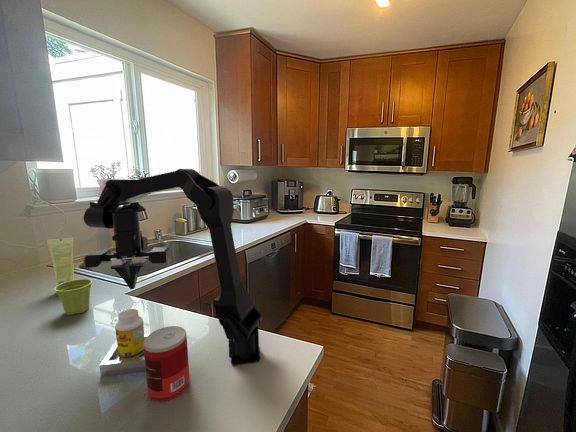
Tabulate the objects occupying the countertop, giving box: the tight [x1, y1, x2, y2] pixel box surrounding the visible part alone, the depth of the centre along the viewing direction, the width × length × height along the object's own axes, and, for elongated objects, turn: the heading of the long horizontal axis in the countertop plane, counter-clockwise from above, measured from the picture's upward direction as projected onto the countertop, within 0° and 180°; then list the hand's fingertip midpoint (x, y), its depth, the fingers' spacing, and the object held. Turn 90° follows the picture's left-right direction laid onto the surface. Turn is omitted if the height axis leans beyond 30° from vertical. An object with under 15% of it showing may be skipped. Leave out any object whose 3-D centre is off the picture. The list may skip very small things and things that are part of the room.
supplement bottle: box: [114, 308, 145, 359], centre depth 65 cm, size 6×6×10 cm
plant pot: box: [53, 278, 93, 316], centre depth 87 cm, size 9×9×9 cm
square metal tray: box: [99, 333, 150, 377], centre depth 66 cm, size 11×10×3 cm
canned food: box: [143, 325, 190, 402], centre depth 56 cm, size 8×8×11 cm
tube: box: [46, 237, 75, 286], centre depth 102 cm, size 6×5×20 cm
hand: (132, 288), depth 73 cm, fingers closed
